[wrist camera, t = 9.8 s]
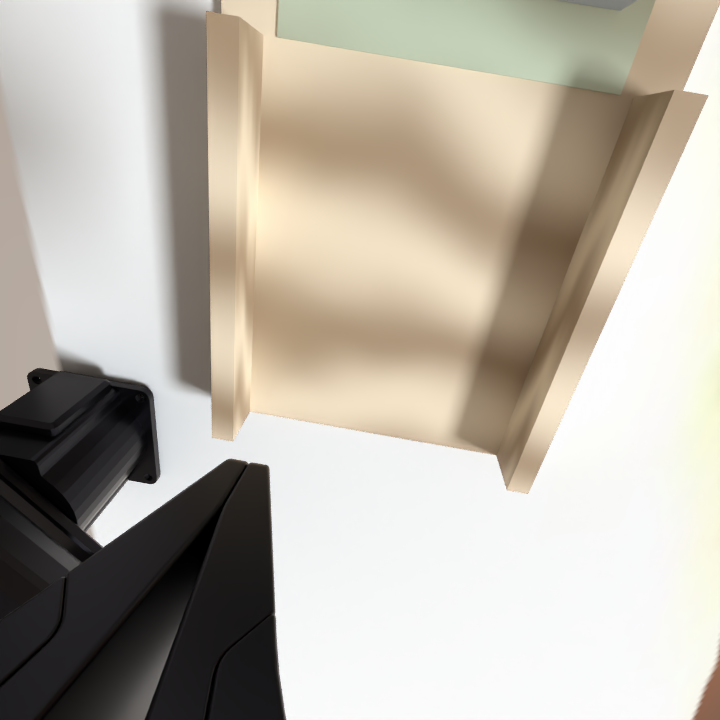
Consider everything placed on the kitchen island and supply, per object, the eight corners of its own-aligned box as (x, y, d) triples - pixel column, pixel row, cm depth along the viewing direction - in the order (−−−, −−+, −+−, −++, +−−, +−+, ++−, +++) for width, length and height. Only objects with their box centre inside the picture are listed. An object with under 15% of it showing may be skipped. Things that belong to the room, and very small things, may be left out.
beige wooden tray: (523, 455, 22) (538, 495, 20) (224, 402, 23) (201, 435, 20) (815, -239, 11) (936, -350, 9) (226, -333, 12) (176, -469, 9)
